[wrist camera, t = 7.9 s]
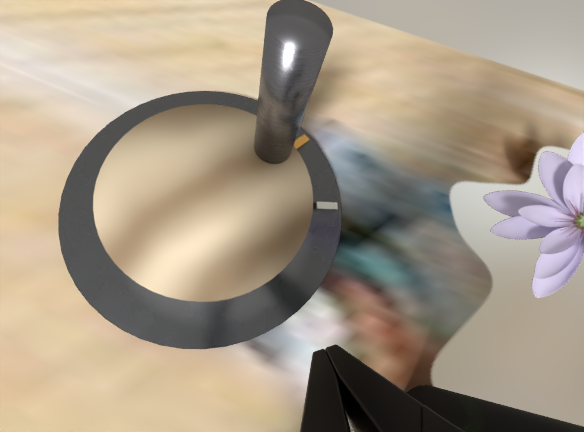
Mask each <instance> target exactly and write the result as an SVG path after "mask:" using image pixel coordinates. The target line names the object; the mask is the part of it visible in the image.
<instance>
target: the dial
mask: <svg viewBox="0 0 584 432" xmlns="http://www.w3.org/2000/svg"><path fill="white" fill-rule="evenodd" d="M332 35H333V26H332V23H331V21H330V19H329V17H328V16H327V15H326V13H325V12H324V11H323V10H321V9H320V8H319V7H317V6H316V5H314V4H312V3H310V2H307V1H305V0H280V1H278V2H276V3H274V4H273V5H272V6H271V7H270V8H269V10H268V13H267V18H266V28H265V38H264V48H263V58H262V68H261V78H260V88H259V98H258V108H257V116H256V115H254V114H251V113H249V112H247V111H244V110H240V109H237V108H234V107H228V106H223V105H213V104H195V105H188V106H181V107H177V108H173V109H169V110H166V111H164V112H161V113H158V114H156V115H154V116H152V117H150V118H148V119H146V120H144V121H143V122H141V123H139V124H138V125H136V126H135V127H133V128H132V129H131V130H130V131H129V132H128V133H126V134H125V135H124V136H123V137H122V138H121V139H120V140H119V141H118V142H117V143H116V145H115V146H114V147H113V148H112V150H111V151H110V153H109V154H108V156H107V157H106V159H105V161H104V163H103V165H102V167H101V169H100V171H99V174H98V177H97V180H96V184H95V190H94V195H93V213H94V220H95V225H96V228H97V232H98V235H99V238H100V240H101V242H102V244H103V246H104V248H105V250H106V252H107V253H108V255H109V256H110V257H111V259H112V260H113V262H114V263H115V264H116V265H117V266H118V267H119V268H120V269H121V270H122V271H123V272H124V273H125V274H126V275H127V276H129V277H130V278H131V279H132V280H134V281H135V282H136V283H138V284H140V285H141V286H143V287H145V288H147V289H149V290H151V291H153V292H155V293H158V294H161V295H163V296H166V297H170V298H174V299H179V300H184V301H196V302H212V301H221V300H227V299H232V298H235V297H238V296H241V295H244V294H247V293H249V292H251V291H253V290H255V289H257V288H259V287H261V286H262V285H264V284H265V283H267V282H269V281H270V280H271V279H273V278H274V277H275V276H276V275H277V274H279V273H280V272H281V271H282V270H283V269H284V268H285V267H286V266H287V265H288V264H289V263H290V262H291V260H292V259H293V258H294V256H295V255H296V254H297V252H298V251H299V249H300V248H301V246H302V244H303V242H304V240H305V238H306V235H307V232H308V230H309V227H310V223H311V218H312V213H313V190H312V184H311V180H310V176H309V173H308V170H307V167H306V165H305V163H304V161H303V159H302V157H301V155H300V154H299V152H298V151H297V149H296V148H295V146H294V143H295V140H296V137H297V135H298V132H299V129H300V126H301V123H302V120H303V118H304V115H305V112H306V109H307V106H308V103H309V100H310V98H311V95H312V92H313V89H314V86H315V83H316V81H317V78H318V75H319V72H320V69H321V66H322V64H323V61H324V58H325V55H326V52H327V49H328V46H329V44H330V41H331V38H332Z"/></svg>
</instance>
